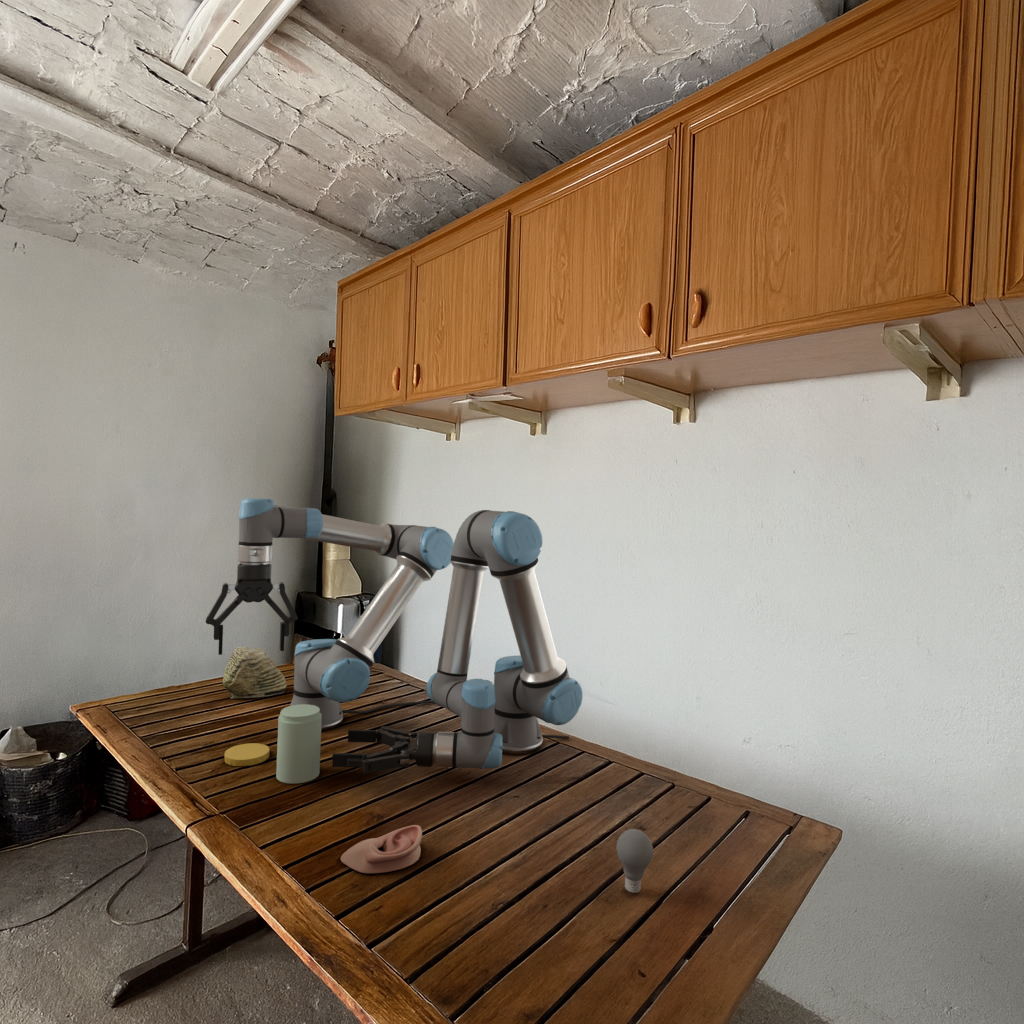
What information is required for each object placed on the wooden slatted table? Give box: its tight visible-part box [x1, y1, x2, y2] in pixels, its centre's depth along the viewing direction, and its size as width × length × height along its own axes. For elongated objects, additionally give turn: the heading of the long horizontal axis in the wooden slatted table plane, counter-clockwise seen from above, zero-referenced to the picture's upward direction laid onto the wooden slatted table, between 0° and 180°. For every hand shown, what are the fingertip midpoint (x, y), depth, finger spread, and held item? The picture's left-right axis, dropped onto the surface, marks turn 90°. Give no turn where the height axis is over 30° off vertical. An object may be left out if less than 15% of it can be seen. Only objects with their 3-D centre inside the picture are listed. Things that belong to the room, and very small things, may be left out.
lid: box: [223, 742, 271, 767], centre depth 152 cm, size 10×10×2 cm
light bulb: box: [615, 828, 654, 894], centre depth 106 cm, size 6×6×10 cm
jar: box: [275, 704, 322, 785], centre depth 144 cm, size 9×9×15 cm
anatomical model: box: [340, 824, 423, 874], centre depth 112 cm, size 13×4×12 cm
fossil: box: [222, 646, 288, 699], centre depth 198 cm, size 9×18×15 cm, turn 132°
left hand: (251, 651), depth 151 cm, fingers open, 13 cm apart
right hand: (340, 747), depth 144 cm, fingers open, 13 cm apart
